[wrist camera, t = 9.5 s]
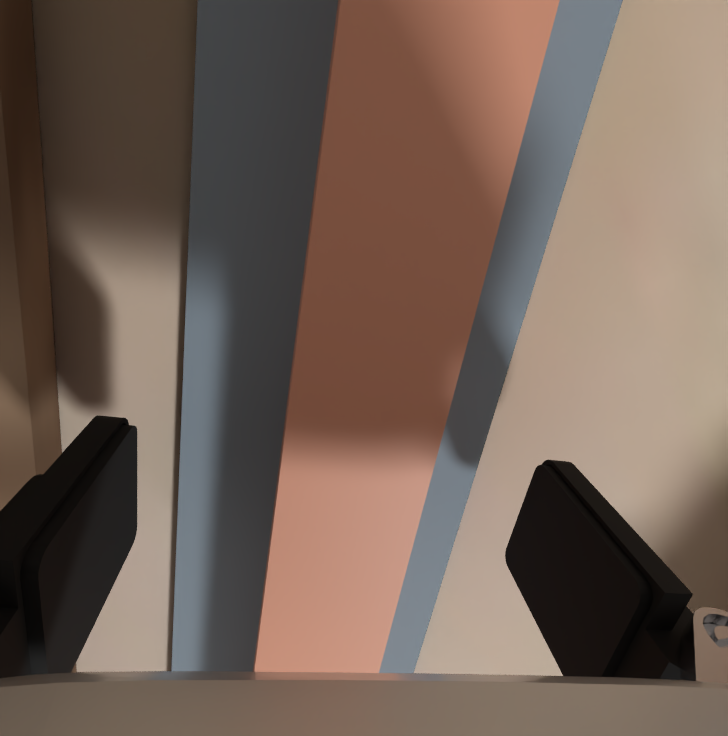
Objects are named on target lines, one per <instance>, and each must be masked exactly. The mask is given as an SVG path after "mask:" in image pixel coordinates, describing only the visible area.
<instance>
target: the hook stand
mask: <svg viewBox="0 0 728 736" xmlns="http://www.w3.org/2000/svg"><path fill="white" fill-rule="evenodd" d="M61 454H62V449H61V434H60V419H59V405H58V390H57V375H56V360H55V345H54V330H53V315H52V300H51V286H50V271H49V256H48V241H47V226H46V211H45V196H44V181H43V167H42V152H41V137H40V122H39V107H38V92H37V77H36V62H35V48H34V33H33V18H32V3H31V0H0V511H1V510H2V509H3V508H4V506H5V505H6V504H7V503H8V502H9V501H10V500H11V499H12V498H13V497H14V496H15V495H16V494H17V492H18V491H19V490H20V489H21V488H22V487H23V486H24V485H25V484H26V483H27V482H28V481H29V480H30V479H31V478H32V477H33V476H35V475H38V474H44V473H45V472H46V471H47V469H48V468H49V467H50V466H51V465H52V464H53V463H54V462H55V461H56V459H57V458H58V457H59V456H60V455H61ZM71 673H76V663H75V665H74V667H73V669H72V672H71Z"/></svg>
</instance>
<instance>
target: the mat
mask: <svg viewBox="0 0 728 736" xmlns="http://www.w3.org/2000/svg"><path fill="white" fill-rule="evenodd" d="M622 1H623V0H560V1H559V5H558V8H557V12H556V16H555V20H554V23H553V27H552V31H551V34H550V38H549V42H548V46H547V49H546V53H545V57H544V61H543V64H542V68H541V72H540V75H539V79H538V83H537V87H536V90H535V94H534V98H533V101H532V105H531V109H530V113H529V116H528V120H527V124H526V127H525V131H524V135H523V139H522V142H521V146H520V150H519V153H518V157H517V161H516V165H515V168H514V172H513V176H512V179H511V183H510V187H509V191H508V194H507V198H506V202H505V206H504V209H503V213H502V217H501V220H500V224H499V228H498V232H497V235H496V239H495V243H494V246H493V250H492V254H491V258H490V261H489V265H488V269H487V272H486V276H485V280H484V284H483V287H482V291H481V295H480V298H479V302H478V306H477V310H476V313H475V317H474V321H473V325H472V328H471V332H470V336H469V339H468V343H467V347H466V351H465V354H464V358H463V362H462V365H461V369H460V373H459V377H458V380H457V384H456V388H455V391H454V395H453V399H452V403H451V406H450V410H449V414H448V417H447V421H446V425H445V429H444V432H443V436H442V440H441V443H440V447H439V451H438V455H437V458H436V462H435V466H434V470H433V473H432V477H431V481H430V484H429V488H428V492H427V496H426V499H425V503H424V507H423V510H422V514H421V518H420V522H419V525H418V529H417V533H416V536H415V540H414V544H413V548H412V551H411V555H410V559H409V562H408V566H407V570H406V574H405V577H404V581H403V585H402V588H401V592H400V596H399V600H398V603H397V607H396V611H395V615H394V618H393V622H392V626H391V629H390V633H389V637H388V641H387V644H386V648H385V652H384V655H383V659H382V663H381V667H380V670H379V673H414V669H415V666H416V663H417V660H418V657H419V653H420V650H421V647H422V644H423V641H424V637H425V634H426V631H427V628H428V624H429V621H430V618H431V615H432V612H433V608H434V605H435V602H436V599H437V596H438V592H439V589H440V586H441V583H442V579H443V576H444V573H445V570H446V567H447V563H448V560H449V557H450V554H451V551H452V547H453V544H454V541H455V538H456V534H457V531H458V528H459V525H460V522H461V518H462V515H463V512H464V509H465V506H466V502H467V499H468V496H469V493H470V489H471V486H472V483H473V480H474V477H475V473H476V470H477V467H478V464H479V461H480V457H481V454H482V451H483V448H484V444H485V441H486V438H487V435H488V432H489V428H490V425H491V422H492V419H493V416H494V412H495V409H496V406H497V403H498V399H499V396H500V393H501V390H502V387H503V383H504V380H505V377H506V374H507V371H508V367H509V364H510V361H511V358H512V354H513V351H514V348H515V345H516V342H517V338H518V335H519V332H520V329H521V326H522V322H523V319H524V316H525V313H526V309H527V306H528V303H529V300H530V297H531V293H532V290H533V287H534V284H535V281H536V277H537V274H538V271H539V268H540V264H541V261H542V258H543V255H544V252H545V248H546V245H547V242H548V239H549V236H550V232H551V229H552V226H553V223H554V219H555V216H556V213H557V210H558V207H559V203H560V200H561V197H562V194H563V191H564V187H565V184H566V181H567V178H568V174H569V171H570V168H571V165H572V162H573V158H574V155H575V152H576V149H577V146H578V142H579V139H580V136H581V133H582V129H583V126H584V123H585V120H586V117H587V113H588V110H589V107H590V104H591V101H592V97H593V94H594V91H595V88H596V84H597V81H598V78H599V75H600V72H601V68H602V65H603V62H604V59H605V56H606V52H607V49H608V46H609V43H610V39H611V36H612V33H613V30H614V27H615V23H616V20H617V17H618V14H619V11H620V7H621V4H622ZM337 6H338V0H198V8H197V33H196V59H195V84H194V110H193V135H192V161H191V186H190V212H189V237H188V263H187V288H186V313H185V339H184V364H183V390H182V415H181V441H180V466H179V492H178V517H177V543H176V568H175V593H174V619H173V644H172V670H171V671H234V672H253V667H254V659H255V651H256V643H257V635H258V627H259V619H260V611H261V604H262V596H263V588H264V580H265V572H266V564H267V556H268V549H269V541H270V533H271V525H272V517H273V509H274V501H275V494H276V486H277V478H278V470H279V462H280V454H281V446H282V438H283V431H284V423H285V415H286V407H287V399H288V391H289V383H290V376H291V368H292V360H293V352H294V344H295V336H296V328H297V321H298V313H299V305H300V297H301V289H302V281H303V273H304V265H305V258H306V250H307V242H308V234H309V226H310V218H311V210H312V203H313V195H314V187H315V179H316V171H317V163H318V155H319V148H320V140H321V132H322V124H323V116H324V108H325V100H326V93H327V85H328V77H329V69H330V61H331V53H332V45H333V37H334V30H335V22H336V14H337Z"/></svg>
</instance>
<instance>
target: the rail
mask: <svg viewBox="0 0 728 736" xmlns="http://www.w3.org/2000/svg"><path fill="white" fill-rule="evenodd" d="M559 1H560V0H338V6H337V14H336V22H335V30H334V37H333V45H332V53H331V61H330V69H329V77H328V85H327V93H326V100H325V108H324V116H323V124H322V132H321V140H320V148H319V155H318V163H317V171H316V179H315V187H314V195H313V203H312V210H311V218H310V226H309V234H308V242H307V250H306V258H305V265H304V273H303V281H302V289H301V297H300V305H299V313H298V321H297V328H296V336H295V344H294V352H293V360H292V368H291V376H290V383H289V391H288V399H287V407H286V415H285V423H284V431H283V438H282V446H281V454H280V462H279V470H278V478H277V486H276V494H275V501H274V509H273V517H272V525H271V533H270V541H269V549H268V556H267V564H266V572H265V580H264V588H263V596H262V604H261V611H260V619H259V627H258V635H257V643H256V651H255V659H254V667H253V672H344V673H379V670H380V667H381V663H382V659H383V655H384V652H385V648H386V644H387V641H388V637H389V633H390V629H391V626H392V622H393V618H394V615H395V611H396V607H397V603H398V600H399V596H400V592H401V588H402V585H403V581H404V577H405V574H406V570H407V566H408V562H409V559H410V555H411V551H412V548H413V544H414V540H415V536H416V533H417V529H418V525H419V522H420V518H421V514H422V510H423V507H424V503H425V499H426V496H427V492H428V488H429V484H430V481H431V477H432V473H433V470H434V466H435V462H436V458H437V455H438V451H439V447H440V443H441V440H442V436H443V432H444V429H445V425H446V421H447V417H448V414H449V410H450V406H451V403H452V399H453V395H454V391H455V388H456V384H457V380H458V377H459V373H460V369H461V365H462V362H463V358H464V354H465V351H466V347H467V343H468V339H469V336H470V332H471V328H472V325H473V321H474V317H475V313H476V310H477V306H478V302H479V298H480V295H481V291H482V287H483V284H484V280H485V276H486V272H487V269H488V265H489V261H490V258H491V254H492V250H493V246H494V243H495V239H496V235H497V232H498V228H499V224H500V220H501V217H502V213H503V209H504V206H505V202H506V198H507V194H508V191H509V187H510V183H511V179H512V176H513V172H514V168H515V165H516V161H517V157H518V153H519V150H520V146H521V142H522V139H523V135H524V131H525V127H526V124H527V120H528V116H529V113H530V109H531V105H532V101H533V98H534V94H535V90H536V87H537V83H538V79H539V75H540V72H541V68H542V64H543V61H544V57H545V53H546V49H547V46H548V42H549V38H550V34H551V31H552V27H553V23H554V20H555V16H556V12H557V8H558V5H559Z"/></svg>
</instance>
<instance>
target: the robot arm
mask: <svg viewBox="0 0 728 736" xmlns="http://www.w3.org/2000/svg"><path fill="white" fill-rule="evenodd" d="M136 531H137V428H136V426H131V425H129V423H128V420H127V419H126V418H119V417H108V416H96V417H94V418H93V419H92V421H91V422H90V423H89V424H88V425H87V426H86V427H85V428H84V429H83V431H82V432H81V433H80V434H79V435H78V436H77V437H76V438H75V439H74V441H73V442H72V443H71V444H70V445H69V446H68V447H67V448H66V449H65V451H64V452H63V453H62V454H61V455H60V456H59V457H58V458H57V459H56V461H55V462H54V463H53V464H52V465H51V466H50V467H49V468H48V469H47V471H46V472H45V473H44V474H38V475H35V476H33V477H32V478H31V479H30V480H29V481H28V482H27V483H26V484H25V485H24V486H23V487H22V488H21V489H20V490H19V491H18V492H17V494H16V495H15V496H14V497H13V498H12V499H11V500H10V501H9V502H8V503H7V504H6V505H5V506H4V508H3V509H2V510H1V511H0V736H728V612H726V611H724V610H721V609H717V608H712V607H701V608H699V609H697V610H696V611H695V612H694V614H693V613H692V612H691V611H690V610H689V609H688V608H687V607H686V605H687V604H688V602H689V600H690V598H691V597H692V595H693V594H692V593H691V592H690V591H689V589H688V588H687V587H686V586H685V585H684V584H683V583H682V582H681V581H680V580H679V579H678V578H677V576H676V575H675V574H674V573H673V572H672V571H671V570H670V569H669V568H668V567H667V566H666V564H665V563H664V562H663V561H662V560H661V559H660V558H659V557H658V556H657V555H656V554H655V552H654V551H653V550H652V549H651V548H650V547H649V546H648V545H647V544H646V543H645V542H644V541H643V539H642V538H641V537H640V536H639V535H638V534H637V533H636V532H635V531H634V530H633V529H632V527H631V526H630V525H629V524H628V523H627V522H626V521H625V520H624V519H623V518H622V517H621V515H620V514H619V513H618V512H617V511H616V510H615V509H614V508H613V507H612V506H611V505H610V504H609V502H608V501H607V500H606V499H605V498H604V497H603V496H602V495H601V494H600V493H599V492H598V490H597V489H596V488H595V487H594V486H593V485H592V484H591V483H590V482H589V481H588V480H587V478H586V477H585V476H584V475H583V474H582V473H581V472H580V471H579V470H578V469H577V468H576V467H575V465H574V464H572V463H571V462H565V461H555V460H546V461H544V462H543V463H542V465H539V466H537V467H536V469H535V471H534V474H533V477H532V480H531V482H530V485H529V488H528V491H527V493H526V496H525V499H524V502H523V504H522V507H521V510H520V513H519V515H518V518H517V521H516V524H515V526H514V529H513V532H512V535H511V537H510V540H509V543H508V545H507V548H506V554H505V557H506V563H507V566H508V568H509V570H510V572H511V574H512V576H513V578H514V580H515V582H516V584H517V586H518V588H519V590H520V592H521V594H522V596H523V598H524V600H525V601H526V603H527V605H528V607H529V609H530V611H531V613H532V615H533V617H534V619H535V621H536V623H537V625H538V627H539V629H540V631H541V633H542V635H543V637H544V639H545V641H546V643H547V645H548V647H549V649H550V651H551V653H552V655H553V657H554V658H555V660H556V662H557V664H558V666H559V668H560V670H561V672H562V674H563V676H530V675H479V674H416V673H344V672H234V671H144V672H76V673H71V672H72V669H73V667H74V665H75V663H76V661H77V659H78V657H79V655H80V653H81V651H82V649H83V647H84V645H85V643H86V640H87V638H88V636H89V634H90V632H91V630H92V628H93V626H94V624H95V622H96V620H97V618H98V616H99V614H100V611H101V609H102V607H103V605H104V603H105V601H106V599H107V597H108V595H109V593H110V591H111V589H112V587H113V585H114V582H115V580H116V578H117V576H118V574H119V572H120V570H121V568H122V566H123V564H124V562H125V560H126V558H127V556H128V553H129V551H130V549H131V547H132V545H133V543H134V540H135V536H136Z"/></svg>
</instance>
